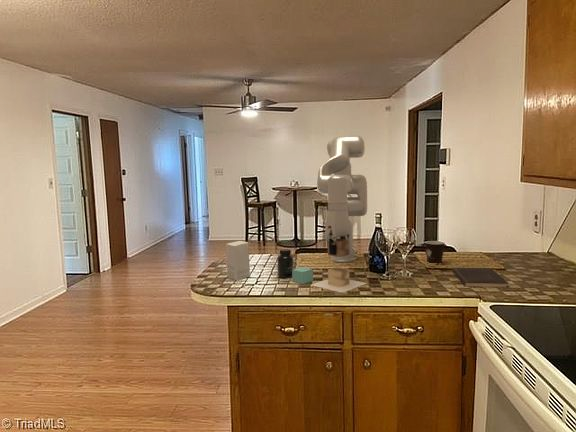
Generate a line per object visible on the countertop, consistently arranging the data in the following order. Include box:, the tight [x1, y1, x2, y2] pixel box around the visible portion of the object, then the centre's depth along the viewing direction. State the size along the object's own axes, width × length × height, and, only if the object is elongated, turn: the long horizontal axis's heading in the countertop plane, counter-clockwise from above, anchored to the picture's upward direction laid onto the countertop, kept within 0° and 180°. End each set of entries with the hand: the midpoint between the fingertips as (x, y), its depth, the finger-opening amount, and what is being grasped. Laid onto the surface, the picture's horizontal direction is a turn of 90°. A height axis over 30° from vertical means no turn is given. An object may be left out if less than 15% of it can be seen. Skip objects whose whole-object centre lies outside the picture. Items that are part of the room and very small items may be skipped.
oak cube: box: [327, 266, 350, 287], centre depth 174 cm, size 6×6×6 cm
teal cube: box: [291, 266, 314, 285], centre depth 180 cm, size 6×6×6 cm
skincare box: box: [225, 240, 251, 281], centre depth 191 cm, size 8×7×16 cm
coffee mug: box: [422, 240, 445, 264], centre depth 209 cm, size 12×9×10 cm
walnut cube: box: [327, 238, 349, 257], centre depth 172 cm, size 6×6×6 cm
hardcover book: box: [451, 267, 510, 288], centre depth 180 cm, size 16×23×2 cm
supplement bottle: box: [277, 248, 294, 279], centre depth 190 cm, size 7×7×12 cm
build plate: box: [310, 278, 368, 294], centre depth 174 cm, size 16×16×1 cm
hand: (338, 252), depth 172 cm, fingers closed on walnut cube, 6 cm apart
